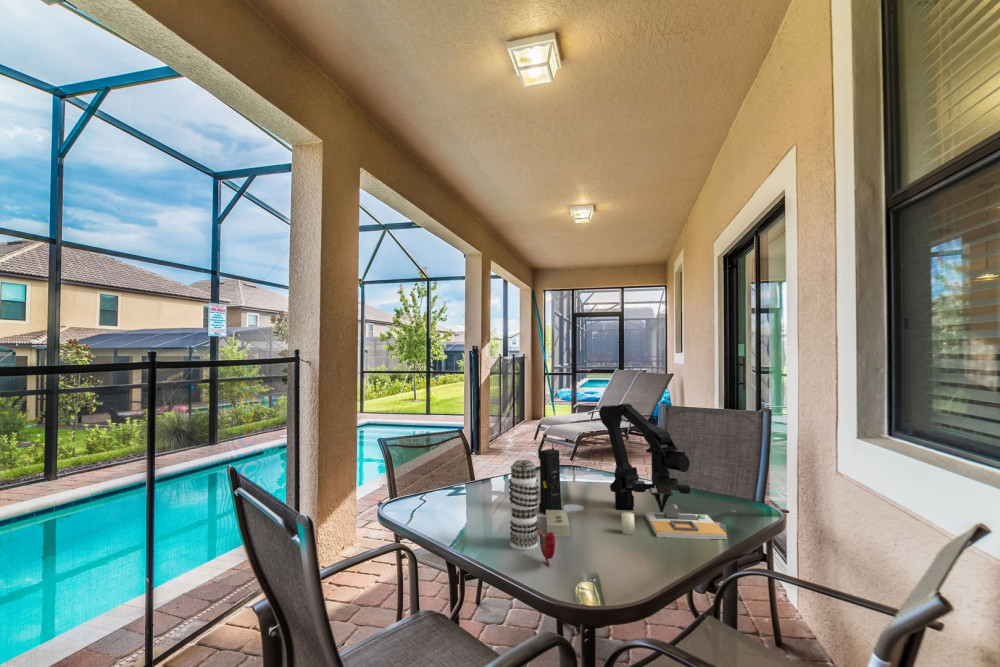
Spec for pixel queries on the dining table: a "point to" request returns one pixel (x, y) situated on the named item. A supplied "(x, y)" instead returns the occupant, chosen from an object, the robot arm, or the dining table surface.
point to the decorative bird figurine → (547, 545)
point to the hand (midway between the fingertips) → (661, 512)
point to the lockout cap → (628, 523)
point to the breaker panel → (685, 526)
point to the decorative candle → (523, 505)
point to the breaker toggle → (671, 511)
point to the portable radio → (549, 480)
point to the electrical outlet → (557, 522)
